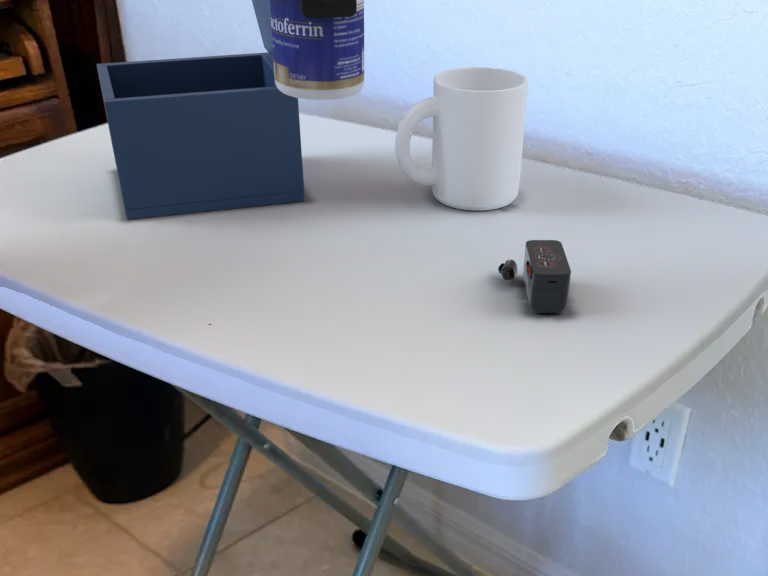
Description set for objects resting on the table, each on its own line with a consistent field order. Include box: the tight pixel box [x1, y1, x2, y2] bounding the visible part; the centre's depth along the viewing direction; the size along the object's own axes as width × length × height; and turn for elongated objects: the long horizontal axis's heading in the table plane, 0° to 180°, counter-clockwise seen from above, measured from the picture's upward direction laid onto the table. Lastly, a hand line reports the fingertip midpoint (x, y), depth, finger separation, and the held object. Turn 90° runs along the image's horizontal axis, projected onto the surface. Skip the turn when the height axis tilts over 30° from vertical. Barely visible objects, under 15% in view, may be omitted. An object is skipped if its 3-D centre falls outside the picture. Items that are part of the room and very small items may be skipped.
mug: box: [394, 66, 529, 212], centre depth 84 cm, size 12×8×10 cm
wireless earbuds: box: [497, 239, 572, 314], centre depth 71 cm, size 5×7×3 cm, turn 0°
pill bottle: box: [270, 0, 365, 101], centre depth 56 cm, size 6×6×10 cm
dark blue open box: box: [96, 51, 306, 221], centre depth 87 cm, size 16×13×10 cm
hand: (316, 1), depth 56 cm, fingers closed on pill bottle, 5 cm apart
